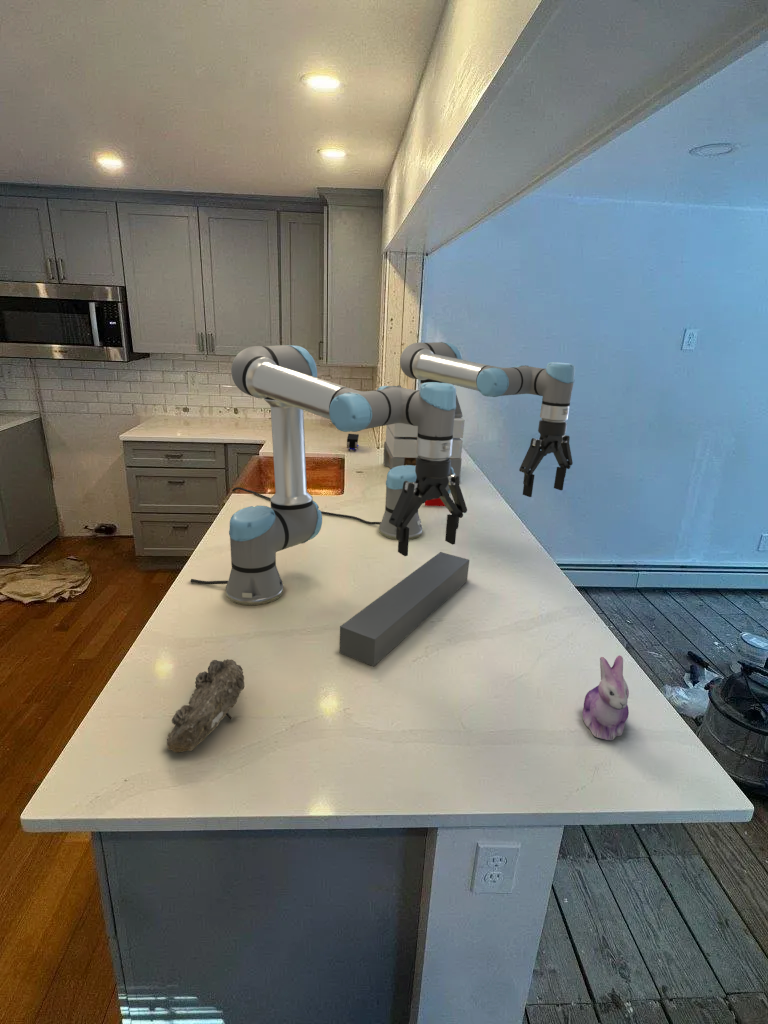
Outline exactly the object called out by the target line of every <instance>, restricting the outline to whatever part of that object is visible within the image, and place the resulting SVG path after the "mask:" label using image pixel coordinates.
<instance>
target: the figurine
mask: <svg viewBox="0 0 768 1024" xmlns="http://www.w3.org/2000/svg"><path fill="white" fill-rule="evenodd" d="M599 666H600V667H599V669H600V681H599V684H598V685H597V686H595V687H593V688H592V689H590V690H589V691H588V692H586V694H585V697H584V701H583V708H582V714H581V715H582V719H583V722H584V725H585V726H586V727H587V728H588V729H589V731H590V732H591V734H592V735H593V736H594V737H596V738H598V739H601V740H606V741H614V739H616V737H620V736H622V734H623V732H624V728H625V725H626V722H627V721H628V718H629V713H630V709H629V705H628V699H629V695H630V691H629V686H628V683H627V682H626V680H625V678H624V658H623V656H622V655H621V654H620V655H617V656H616V658H615V659H614V662H613V664H612V666H611V665H610V664H609V662H608V660H607V659H606V658H605V656H600V657H599Z"/></svg>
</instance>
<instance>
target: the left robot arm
mask: <svg viewBox="0 0 768 1024" xmlns="http://www.w3.org/2000/svg"><path fill="white" fill-rule="evenodd" d="M230 371H231V372H230V374H231V378H232V381H233V383H234V385H235V387H236V388H238V390H239V391H240V392H243V393H244V394H246V395H248V396H251V397H254V398H257V399H261V400H262V399H263V400H264V401H265V402H266V403H267V404H268V405H269V406H270V407H269V408H270V421H271V422H270V423H271V439H272V455H273V458H272V459H273V474H274V475H273V476H274V488H275V490H274V491H275V493H274V494H273V495H272V496H271V497H270V498H271V499H270V500H269V501H270V502H269V503H270V506H267V505H256V506H253V505H251V506H246V507H243V508H241V509H239V510H237V511H236V512H234V513H233V515H231V517H230V520H229V530H228V535H229V543H230V545H229V547H230V562H231V568H230V569H231V570H230V573H229V577H228V580H201V579H195V578H191V579H190V583H194V584H200V585H226V586H225V596H226V598H227V599H228V600H229V601H230V602H232V603H234V604H237V605H241V606H248V607H249V606H251V607H253V606H262V605H267V604H271V603H272V602H275V601H276V600H278V599H280V597H282V595H283V593H284V583H283V579H282V577H281V575H280V573H279V570H278V567H277V554H276V553H278V552H281V551H283V550H287V549H290V548H292V547H295V546H298V545H300V544H306V543H307V542H309V541H310V540H313V539H314V538H315V537H317V536H318V535H319V533H320V531H321V529H322V524H323V514H321V511H322V510H321V509H319V504H318V503H317V502H316V501H314V498H313V496H312V495H311V494H310V493H309V492H308V487H307V486H308V484H307V483H308V482H307V462H306V440H305V439H306V438H305V437H306V436H305V435H306V434H305V416H304V415H305V413H304V412H307V413H310V414H313V415H316V416H318V417H322V418H325V419H327V420H330V422H331V423H332V425H333V426H335V428H336V429H337V430H338V431H340V432H344V433H347V432H348V433H350V432H351V433H358V432H361V431H363V430H369V429H373V428H374V429H375V428H378V427H385V426H387V425H390V424H396V423H403V424H409V425H413V426H418V436H417V449H416V454H417V455H418V457H417V458H416V467H415V472H416V476H417V478H416V481H415V482H408V481H404V483H403V489H402V493H401V495H400V497H399V499H398V502H397V504H396V506H395V508H394V510H393V513H392V515H391V517H390V519H389V523H390V524H392V525H393V526H395V527H397V530H396V539H397V540H396V541H398V542H397V553H399V554H400V555H401V556H403V557H408V556H409V542H410V540H409V528H408V527H406V526H407V525H408V523H409V522H410V521H411V519H412V518H413V516H414V515H415V513H416V512H417V510H418V511H419V509H420V508H421V506H422V505H423V504H425V501H426V500H431V499H433V498H434V499H438V498H439V497H440V499H441V500H442V502H443V503H444V504H445V506H444V507H445V508H446V509H447V510H448V512H449V514H447V515H446V526H445V539H444V541H445V542H446V543H449V544H450V545H452V546H453V545H454V546H455V545H456V538H457V530H458V529H459V524H460V523H459V522H460V519H462V518H463V517H464V514H466V513H467V511H468V507H467V505H466V501H465V498H464V494H463V493H462V490H461V486H460V482H459V477H458V476H456V475H453V474H450V467H451V460H450V458H449V457H450V456H451V454H452V442H453V427H454V417H455V409H456V395H457V388H456V387H455V385H452V384H448V383H438V382H426V383H423V384H422V385H421V384H420V388H419V390H417V389H411V388H405V387H402V388H400V387H397V386H398V385H382V386H379V387H378V388H377V389H376V390H375V389H374V390H366V391H362V390H358V389H355V388H350V387H348V386H344V385H341V384H338V383H336V382H333V381H329V380H326V379H322V378H319V377H318V368H317V364H316V361H315V359H314V357H313V356H312V354H311V353H310V352H309V351H308V350H307V349H306V348H304V347H303V346H300V345H291V344H279V345H252V346H249V347H246V348H244V349H242V350H241V351H239V352H238V353H237V354H236V356H235V357H234V358H233V361H232V363H231V368H230ZM447 485H449V488H450V491H451V493H450V494H449V493H448V492H447V490H446V489H445V488H446V487H447ZM415 489H416V490H415ZM419 495H420V496H421V497H418V496H419ZM451 497H452V498H451Z"/></svg>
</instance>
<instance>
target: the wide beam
mask: <svg viewBox="0 0 768 1024" xmlns="http://www.w3.org/2000/svg"><path fill="white" fill-rule="evenodd" d="M469 567H470V559H469V558H465V557H461V556H458V555H454V554H449V553H446V552H442V551H440V552H438V553H437V554H435V555H434V556H433V557H431V558H430V559H429V560H427V561H426V562H425V563H423V564H422V565H420V566H419V567H418V568H417V569H415V570H413V572H411V573H410V574H408V575H407V576H406V577H404V578H403V579H402V580H400V581H399V582H398V583H396V584H395V585H394V586H392V587H391V588H390V589H388V590H387V591H386V592H384V593H383V594H382V595H380V596H379V597H378V598H376V599H375V600H373V601H372V602H371V603H369V604H368V605H367V606H366V607H364V608H363V609H361V610H360V611H359V612H357V613H356V614H355V615H353V616H352V617H350V619H348V620H346V621H345V622H343V624H341V625H340V626H339V650H338V651H339V652H338V653H339V654H342V655H344V656H346V657H349V658H351V659H354V660H356V661H358V662H361V663H363V664H365V665H366V664H367V665H369V666H371V667H375V666H376V665H377V664H378V663H380V662H381V661H382V660H383V659H384V658H385V657H386V656H387V655H388V654H389V653H391V652H392V651H393V650H394V649H395V648H396V647H397V646H398V645H399V644H401V642H403V641H404V640H405V639H406V638H407V637H408V636H409V635H410V634H411V633H413V632H414V631H415V630H416V628H418V627H419V626H421V624H423V622H425V621H426V620H427V619H428V618H429V617H430V616H431V615H432V614H433V613H434V612H435V611H437V609H439V608H440V607H441V606H442V605H443V604H444V603H445V602H446V601H447V600H449V599H450V597H452V596H453V595H454V594H455V593H456V592H457V591H458V590H459V589H461V587H463V585H465V584H466V583H467V582H468V577H469V569H470V568H469Z"/></svg>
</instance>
